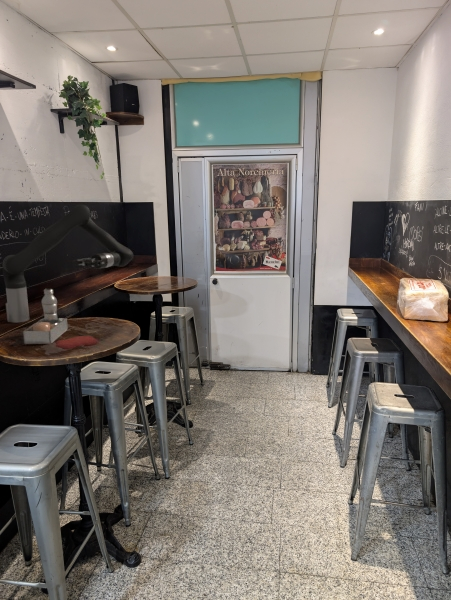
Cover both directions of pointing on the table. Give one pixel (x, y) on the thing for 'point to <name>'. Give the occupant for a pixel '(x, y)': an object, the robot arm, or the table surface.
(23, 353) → the table surface
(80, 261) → the robot arm
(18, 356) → the table surface
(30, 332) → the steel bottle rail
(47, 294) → the plastic bottle
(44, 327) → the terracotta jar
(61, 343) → the red cloth
